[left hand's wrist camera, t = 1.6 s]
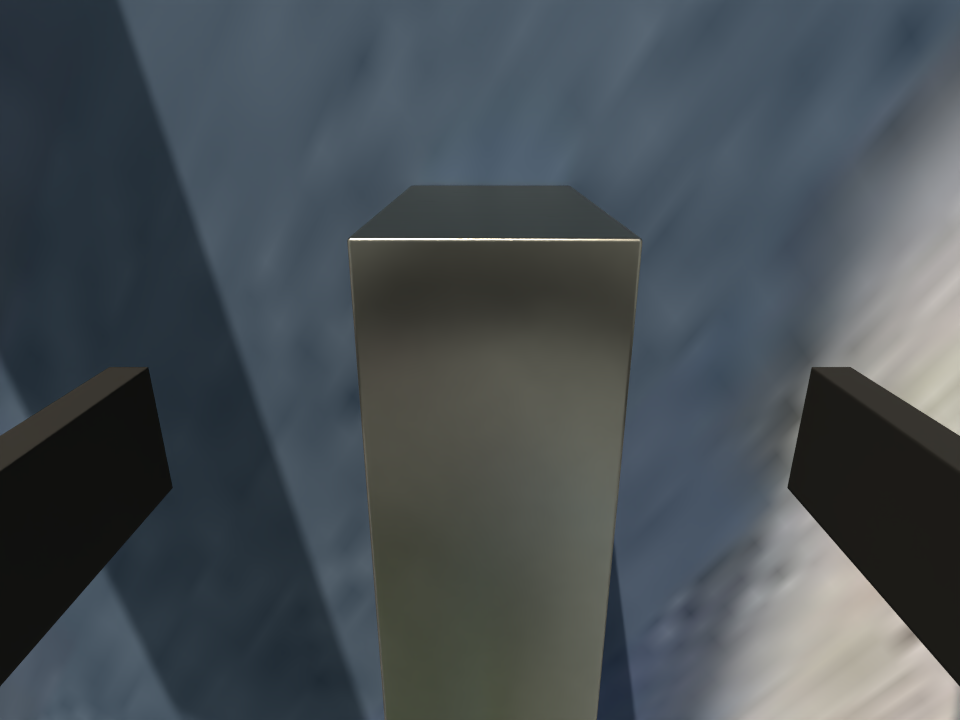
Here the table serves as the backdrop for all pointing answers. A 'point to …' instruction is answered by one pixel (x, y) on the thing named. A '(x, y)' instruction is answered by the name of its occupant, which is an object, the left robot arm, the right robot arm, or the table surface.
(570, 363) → the bar
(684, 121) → the table surface
